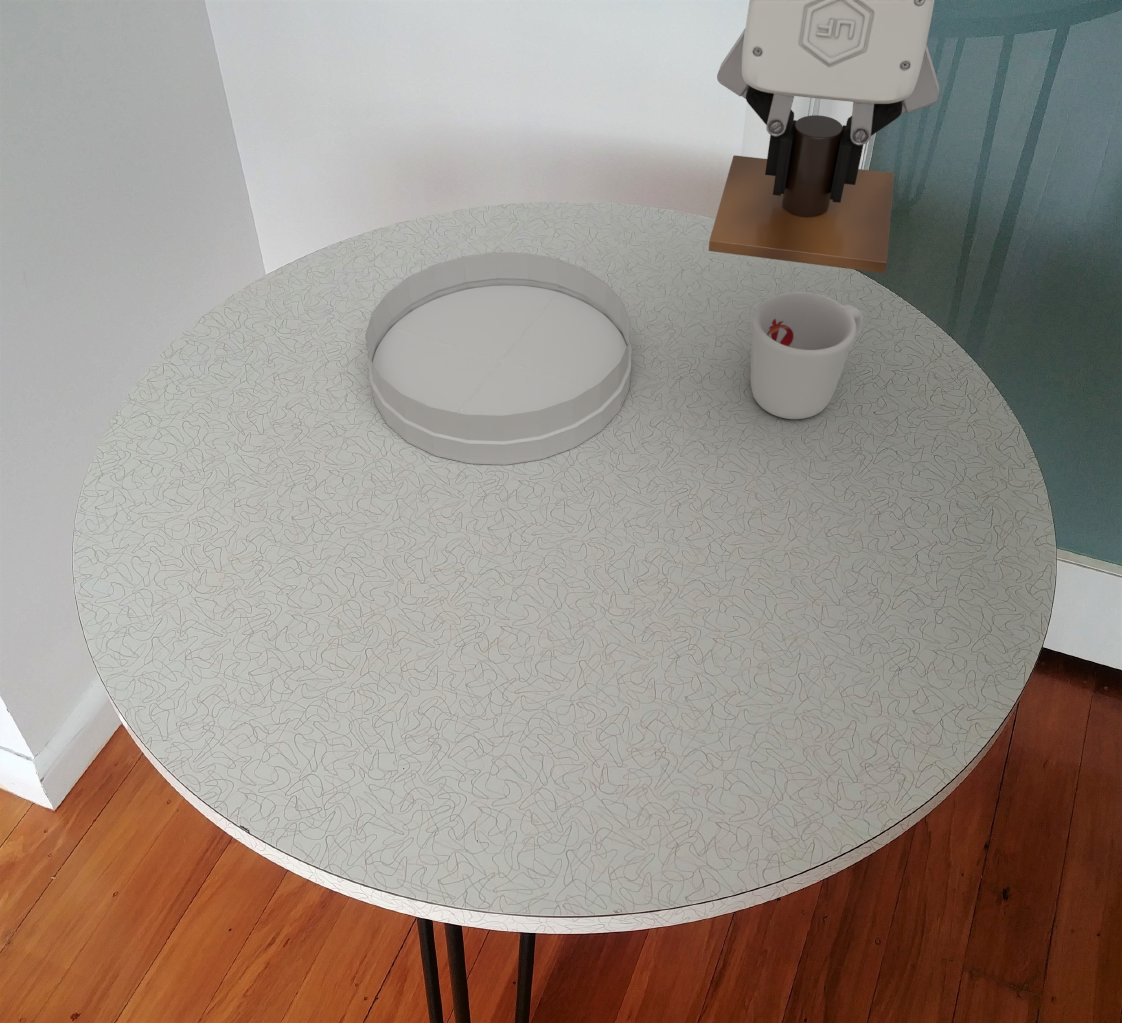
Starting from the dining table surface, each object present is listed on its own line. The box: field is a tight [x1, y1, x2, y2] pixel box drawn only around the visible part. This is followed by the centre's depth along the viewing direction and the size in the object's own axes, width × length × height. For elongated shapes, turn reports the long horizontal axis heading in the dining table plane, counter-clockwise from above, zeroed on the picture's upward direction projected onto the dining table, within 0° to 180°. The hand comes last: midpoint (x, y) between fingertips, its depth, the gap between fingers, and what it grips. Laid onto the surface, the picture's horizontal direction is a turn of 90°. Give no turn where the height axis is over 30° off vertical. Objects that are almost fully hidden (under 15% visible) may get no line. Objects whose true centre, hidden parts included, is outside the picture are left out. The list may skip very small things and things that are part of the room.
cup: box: [750, 291, 864, 420], centre depth 85 cm, size 11×8×8 cm
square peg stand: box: [708, 114, 895, 274], centre depth 68 cm, size 11×11×6 cm
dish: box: [365, 251, 633, 466], centre depth 89 cm, size 22×22×5 cm
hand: (808, 185), depth 69 cm, fingers closed on square peg stand, 3 cm apart
